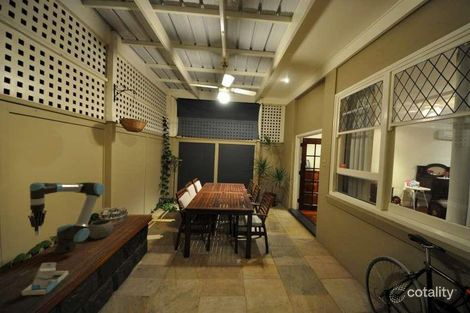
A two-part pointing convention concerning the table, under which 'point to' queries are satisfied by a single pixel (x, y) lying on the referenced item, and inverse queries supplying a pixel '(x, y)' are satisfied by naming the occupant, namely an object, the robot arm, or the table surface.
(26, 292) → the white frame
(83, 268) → the table surface
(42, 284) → the ink box
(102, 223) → the bowl
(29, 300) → the table surface
